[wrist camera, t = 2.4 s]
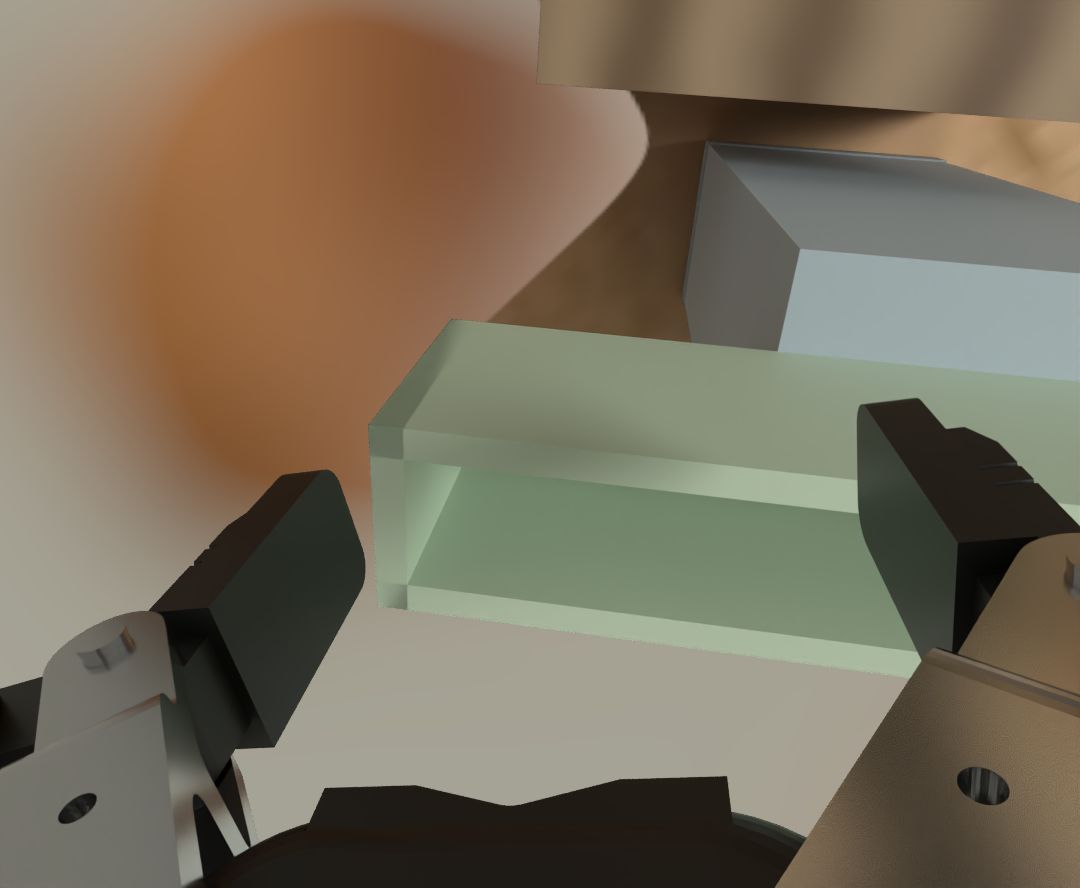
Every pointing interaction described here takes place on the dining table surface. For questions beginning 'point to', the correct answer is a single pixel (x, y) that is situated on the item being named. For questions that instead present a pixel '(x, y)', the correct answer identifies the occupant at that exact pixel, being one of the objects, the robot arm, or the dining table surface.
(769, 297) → the block
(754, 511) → the sage crate
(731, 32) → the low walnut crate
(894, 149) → the dining table surface
